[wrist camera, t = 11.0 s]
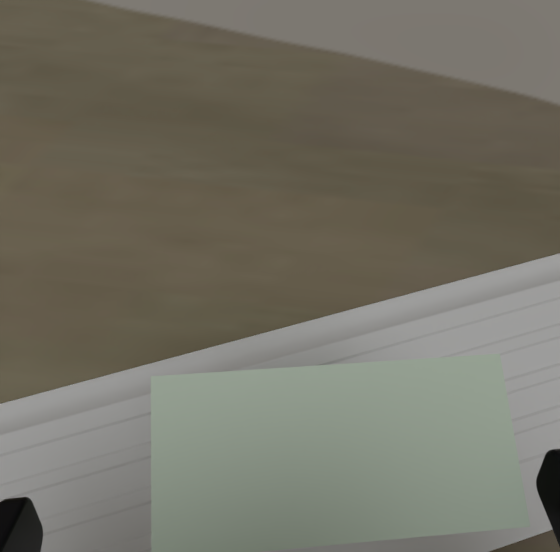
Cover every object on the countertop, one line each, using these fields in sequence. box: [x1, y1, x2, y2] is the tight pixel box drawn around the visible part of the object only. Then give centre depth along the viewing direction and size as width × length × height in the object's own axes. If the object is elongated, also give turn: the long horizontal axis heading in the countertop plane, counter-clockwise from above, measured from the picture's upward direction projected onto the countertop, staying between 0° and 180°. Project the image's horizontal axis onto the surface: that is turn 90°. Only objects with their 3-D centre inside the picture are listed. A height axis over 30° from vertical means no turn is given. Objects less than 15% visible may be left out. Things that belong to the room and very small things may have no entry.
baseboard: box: [0, 253, 560, 552], centre depth 20 cm, size 31×3×12 cm
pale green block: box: [151, 354, 530, 552], centre depth 14 cm, size 3×6×11 cm, turn 94°
